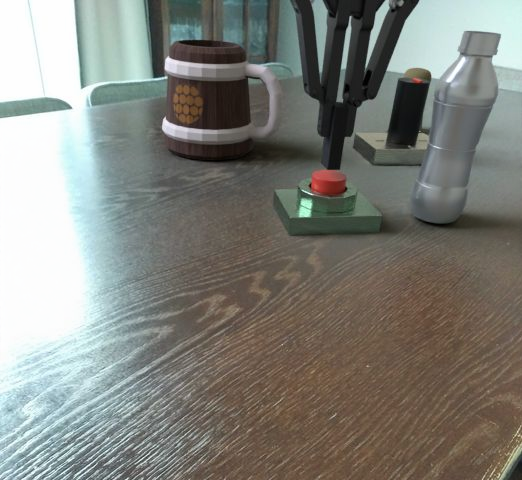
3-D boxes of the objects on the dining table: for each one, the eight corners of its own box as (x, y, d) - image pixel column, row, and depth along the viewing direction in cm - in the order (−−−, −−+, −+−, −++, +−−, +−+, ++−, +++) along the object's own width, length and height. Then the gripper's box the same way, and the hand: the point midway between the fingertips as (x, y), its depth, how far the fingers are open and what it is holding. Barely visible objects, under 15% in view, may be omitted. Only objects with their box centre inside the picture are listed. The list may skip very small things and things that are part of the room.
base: (420, 147, 90) (424, 132, 88) (446, 164, 82) (451, 148, 80) (352, 147, 87) (355, 131, 86) (373, 165, 80) (376, 147, 78)
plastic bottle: (463, 232, 60) (525, 38, 47) (406, 226, 60) (453, 32, 48) (455, 213, 65) (510, 32, 53) (403, 207, 65) (445, 27, 53)
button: (338, 184, 60) (340, 169, 59) (349, 195, 57) (351, 180, 56) (307, 184, 60) (308, 169, 59) (316, 196, 57) (317, 181, 56)
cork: (424, 135, 97) (439, 71, 90) (394, 133, 97) (407, 70, 90) (416, 127, 102) (430, 66, 95) (388, 126, 102) (399, 65, 95)
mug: (145, 152, 78) (135, 42, 69) (189, 132, 90) (186, 35, 81) (262, 173, 73) (268, 57, 64) (293, 148, 85) (302, 47, 76)
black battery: (382, 136, 85) (393, 74, 79) (409, 136, 85) (422, 75, 80) (393, 144, 81) (406, 80, 75) (421, 144, 82) (436, 81, 76)
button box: (354, 204, 65) (359, 174, 63) (379, 233, 58) (386, 199, 56) (272, 206, 63) (274, 174, 61) (288, 235, 56) (291, 201, 54)
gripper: (306, -127, 38) (282, 177, 53) (458, -110, 41) (395, 176, 55) (285, -115, 44) (268, 156, 59) (418, -101, 47) (371, 156, 61)
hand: (330, 165), depth 57 cm, fingers closed
